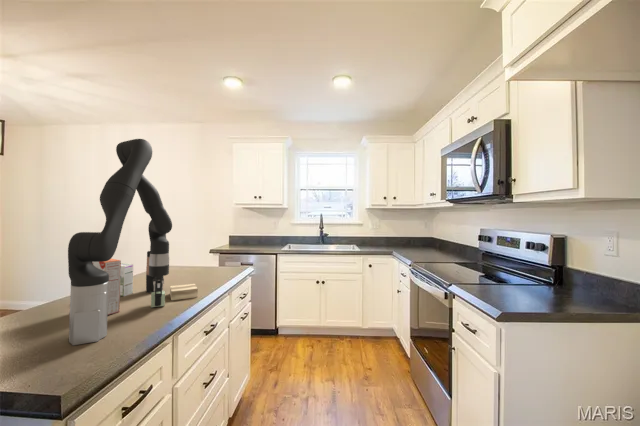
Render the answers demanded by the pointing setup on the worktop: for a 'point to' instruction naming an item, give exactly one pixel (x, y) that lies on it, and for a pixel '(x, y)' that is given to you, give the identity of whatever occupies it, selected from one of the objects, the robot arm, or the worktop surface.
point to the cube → (154, 299)
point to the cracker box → (112, 282)
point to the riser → (183, 291)
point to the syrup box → (126, 279)
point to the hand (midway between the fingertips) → (157, 303)
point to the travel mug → (149, 277)
